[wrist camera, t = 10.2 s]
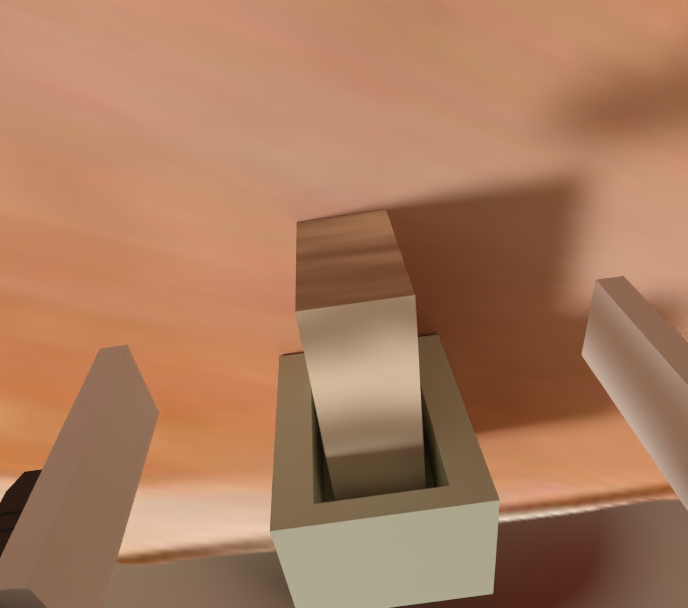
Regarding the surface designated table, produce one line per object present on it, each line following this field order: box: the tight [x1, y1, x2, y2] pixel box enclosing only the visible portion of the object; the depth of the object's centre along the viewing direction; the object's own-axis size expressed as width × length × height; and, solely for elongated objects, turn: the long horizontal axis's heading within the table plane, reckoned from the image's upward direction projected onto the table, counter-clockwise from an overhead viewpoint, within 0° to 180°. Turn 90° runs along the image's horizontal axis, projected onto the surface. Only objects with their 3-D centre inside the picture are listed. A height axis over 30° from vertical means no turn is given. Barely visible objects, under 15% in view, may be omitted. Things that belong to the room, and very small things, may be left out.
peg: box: [295, 210, 426, 501], centre depth 29 cm, size 14×5×9 cm, turn 7°
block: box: [270, 334, 500, 608], centre depth 31 cm, size 8×10×12 cm
